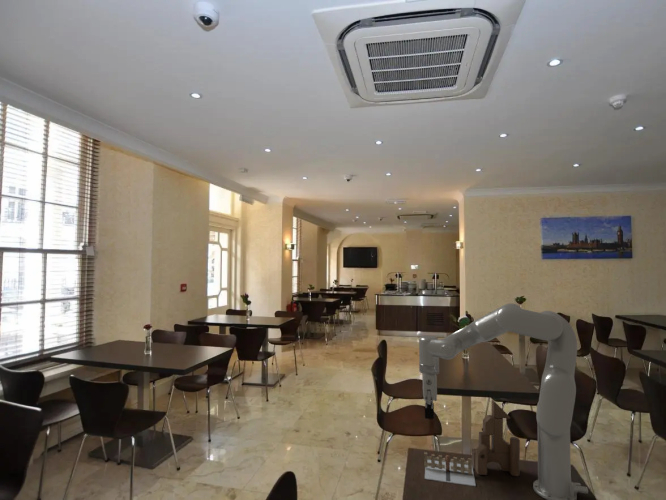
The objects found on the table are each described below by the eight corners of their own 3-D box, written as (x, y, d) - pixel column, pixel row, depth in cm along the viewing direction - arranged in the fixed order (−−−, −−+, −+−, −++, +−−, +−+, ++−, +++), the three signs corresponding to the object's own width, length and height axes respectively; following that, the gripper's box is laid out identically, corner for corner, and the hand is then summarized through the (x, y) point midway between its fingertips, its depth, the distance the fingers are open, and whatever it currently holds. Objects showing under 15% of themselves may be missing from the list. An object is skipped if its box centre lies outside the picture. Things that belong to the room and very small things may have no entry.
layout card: (472, 465, 146) (472, 464, 146) (475, 486, 132) (475, 485, 132) (425, 459, 150) (425, 458, 150) (424, 479, 137) (424, 478, 137)
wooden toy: (477, 475, 139) (477, 404, 139) (471, 465, 145) (472, 398, 146) (521, 477, 138) (521, 406, 139) (513, 467, 145) (513, 399, 146)
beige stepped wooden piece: (449, 469, 142) (449, 455, 142) (449, 471, 141) (449, 457, 141) (424, 466, 144) (424, 452, 144) (424, 468, 143) (424, 453, 143)
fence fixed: (471, 474, 140) (471, 458, 140) (471, 476, 139) (471, 459, 139) (450, 471, 142) (450, 455, 142) (450, 473, 141) (450, 457, 141)
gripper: (439, 375, 141) (439, 425, 141) (439, 363, 158) (439, 409, 157) (418, 373, 143) (418, 423, 143) (420, 362, 160) (420, 407, 159)
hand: (429, 415), depth 150 cm, fingers open, 4 cm apart
